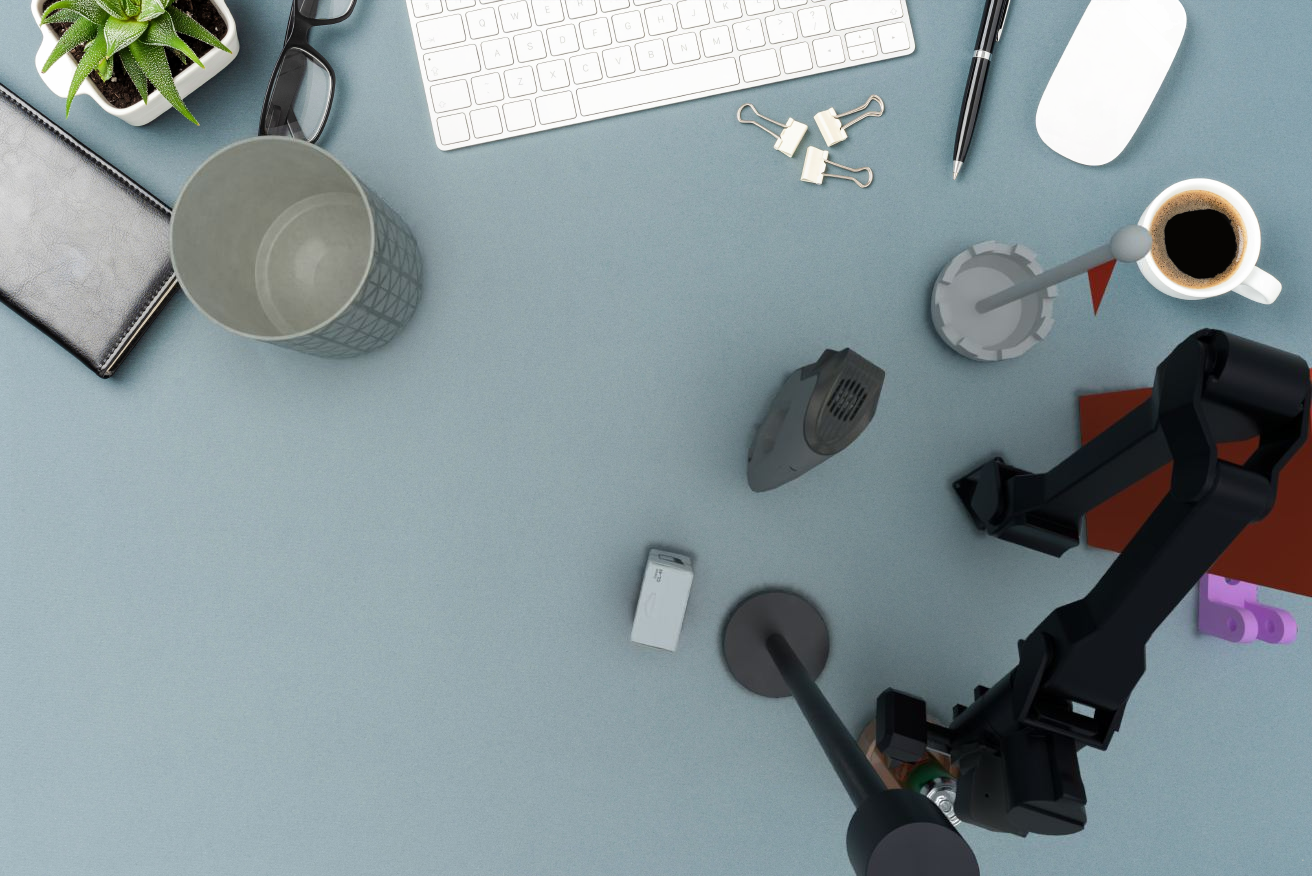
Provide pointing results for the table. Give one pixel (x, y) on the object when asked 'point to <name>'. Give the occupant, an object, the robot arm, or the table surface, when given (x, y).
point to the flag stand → (1017, 293)
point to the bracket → (1241, 613)
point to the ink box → (662, 600)
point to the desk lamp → (840, 741)
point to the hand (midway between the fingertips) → (930, 778)
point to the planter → (293, 250)
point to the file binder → (1266, 553)
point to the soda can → (929, 782)
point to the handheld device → (814, 417)
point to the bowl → (879, 760)
